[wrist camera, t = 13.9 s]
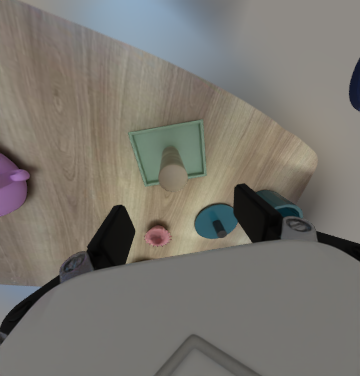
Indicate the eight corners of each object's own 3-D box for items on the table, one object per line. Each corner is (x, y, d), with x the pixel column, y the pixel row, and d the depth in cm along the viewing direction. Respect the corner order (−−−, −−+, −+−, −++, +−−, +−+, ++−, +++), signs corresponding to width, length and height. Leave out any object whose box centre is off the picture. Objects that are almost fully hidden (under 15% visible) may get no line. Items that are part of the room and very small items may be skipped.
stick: (177, 144, 29) (185, 161, 16) (180, 162, 31) (189, 189, 18) (160, 147, 29) (155, 167, 16) (164, 165, 31) (162, 194, 18)
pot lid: (237, 199, 38) (248, 210, 33) (235, 232, 44) (244, 246, 39) (192, 207, 38) (195, 220, 33) (196, 239, 44) (200, 254, 39)
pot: (283, 186, 37) (309, 200, 30) (275, 219, 43) (295, 237, 36) (240, 194, 37) (257, 210, 30) (238, 226, 43) (251, 245, 36)
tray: (200, 119, 27) (203, 119, 26) (204, 172, 33) (206, 175, 31) (130, 132, 27) (127, 132, 25) (146, 183, 33) (145, 186, 31)
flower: (172, 218, 39) (173, 233, 34) (170, 237, 42) (171, 253, 38) (145, 218, 38) (142, 232, 33) (146, 237, 42) (143, 253, 37)
